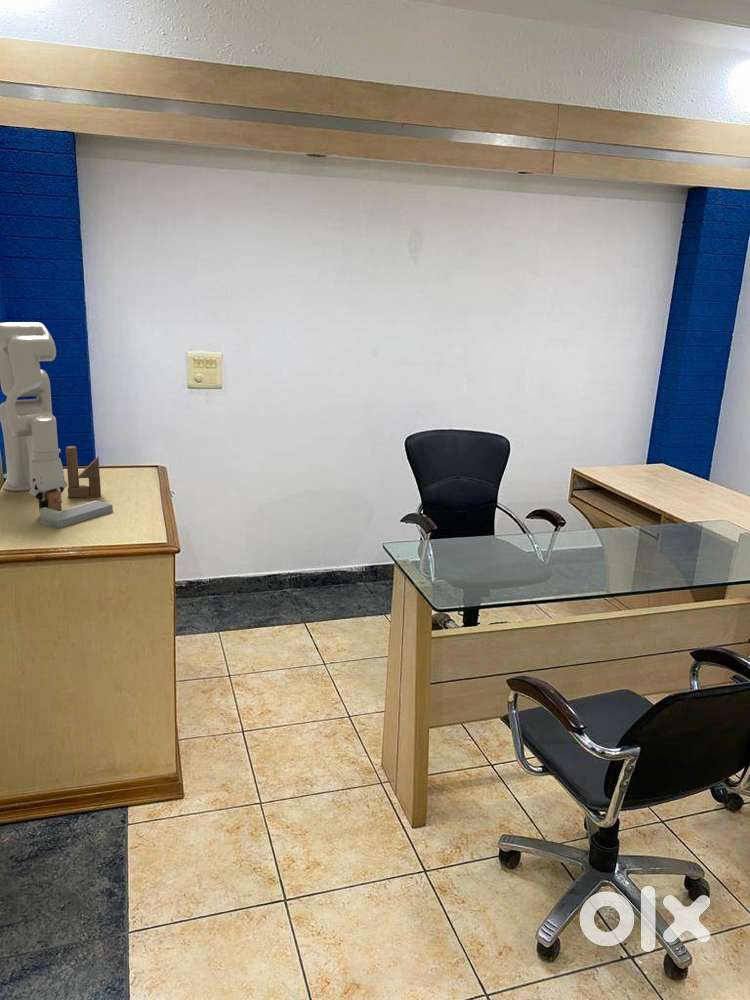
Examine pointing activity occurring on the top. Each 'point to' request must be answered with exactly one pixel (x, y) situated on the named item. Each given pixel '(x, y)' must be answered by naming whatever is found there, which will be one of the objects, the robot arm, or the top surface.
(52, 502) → the brown block
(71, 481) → the brown forked upright piece
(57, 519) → the grey board
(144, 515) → the top surface
